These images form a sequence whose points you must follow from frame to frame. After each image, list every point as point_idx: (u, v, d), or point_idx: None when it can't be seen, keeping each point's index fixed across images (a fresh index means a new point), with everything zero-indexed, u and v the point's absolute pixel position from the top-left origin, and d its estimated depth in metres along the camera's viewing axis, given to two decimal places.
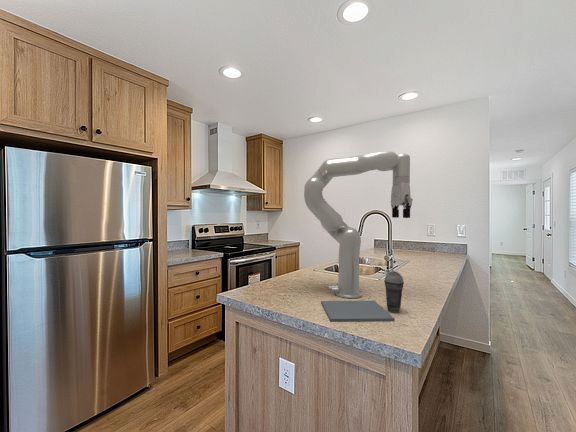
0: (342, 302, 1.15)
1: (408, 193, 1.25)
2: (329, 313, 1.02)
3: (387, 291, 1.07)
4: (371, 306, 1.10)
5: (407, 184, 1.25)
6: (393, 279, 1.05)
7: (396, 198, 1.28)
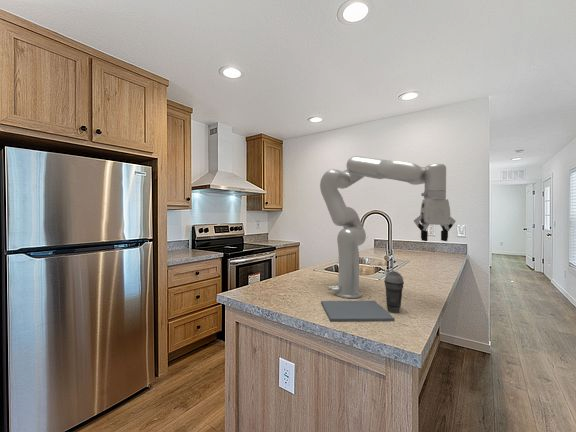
0: (342, 302, 1.15)
1: None
2: (329, 313, 1.02)
3: (387, 291, 1.07)
4: (371, 306, 1.10)
5: None
6: (393, 279, 1.05)
7: (440, 216, 1.06)
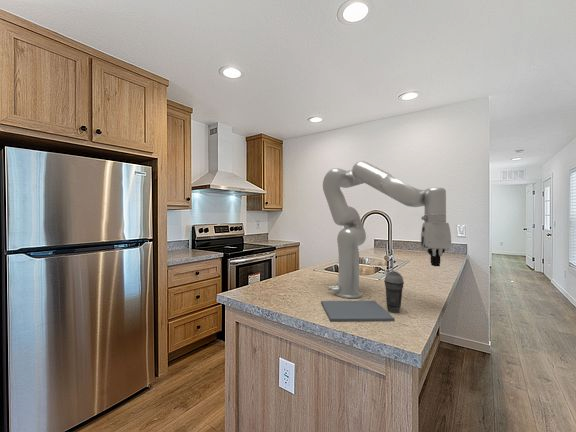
0: (342, 302, 1.15)
1: None
2: (329, 313, 1.02)
3: (387, 291, 1.07)
4: (371, 306, 1.10)
5: None
6: (393, 279, 1.05)
7: (441, 240, 1.06)
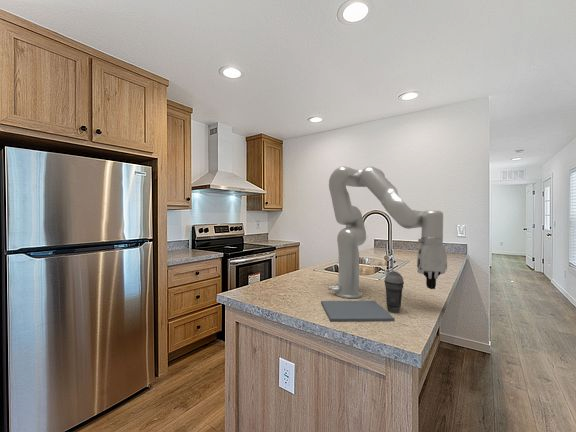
0: (342, 302, 1.15)
1: None
2: (329, 313, 1.02)
3: (387, 291, 1.07)
4: (371, 306, 1.10)
5: None
6: (393, 279, 1.05)
7: (437, 263, 1.06)
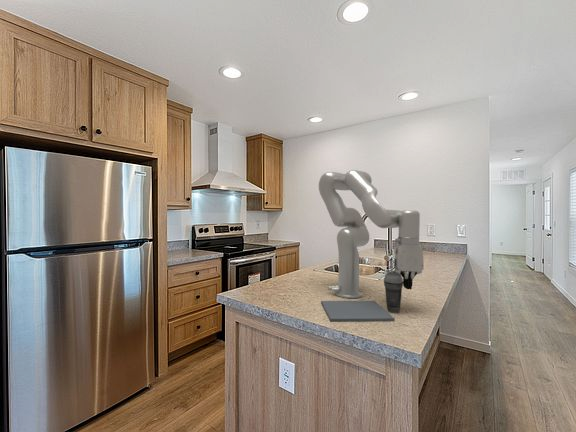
0: (342, 302, 1.15)
1: None
2: (329, 313, 1.02)
3: (387, 291, 1.07)
4: (371, 306, 1.10)
5: None
6: (392, 279, 1.05)
7: (413, 263, 1.06)
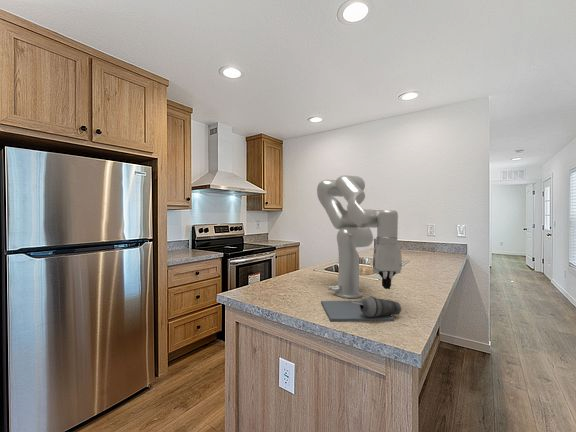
0: (342, 302, 1.15)
1: None
2: (329, 313, 1.02)
3: None
4: None
5: None
6: None
7: (391, 263, 1.05)
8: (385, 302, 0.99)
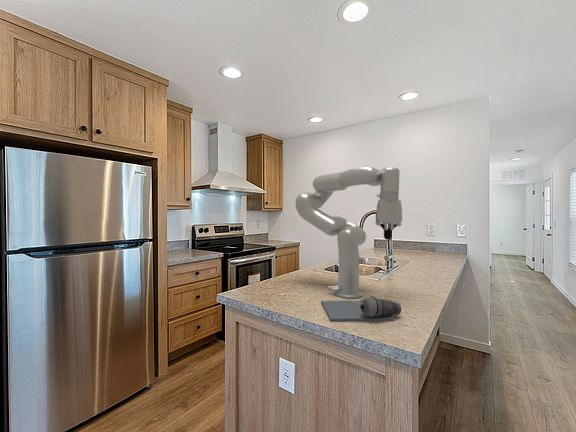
0: (342, 302, 1.15)
1: None
2: (329, 313, 1.02)
3: None
4: None
5: None
6: None
7: (392, 215, 1.16)
8: (386, 303, 0.99)
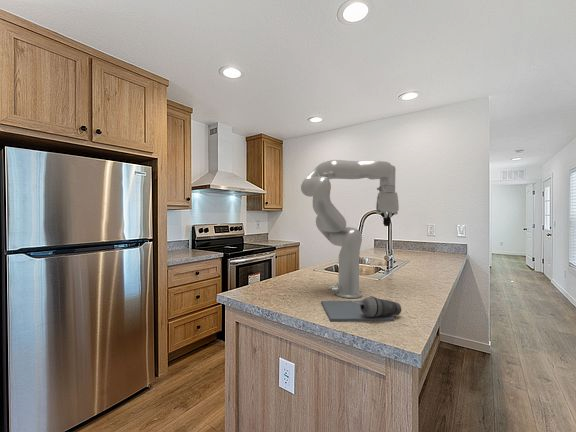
0: (342, 302, 1.15)
1: None
2: (329, 313, 1.02)
3: None
4: None
5: None
6: None
7: (390, 205, 1.37)
8: (386, 303, 0.99)
